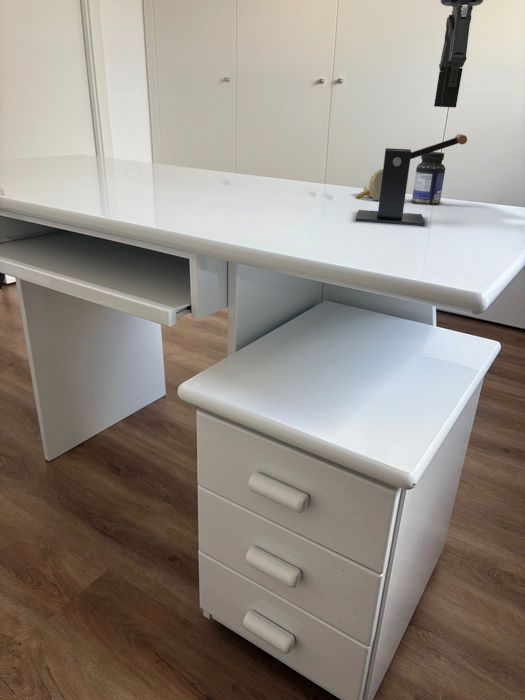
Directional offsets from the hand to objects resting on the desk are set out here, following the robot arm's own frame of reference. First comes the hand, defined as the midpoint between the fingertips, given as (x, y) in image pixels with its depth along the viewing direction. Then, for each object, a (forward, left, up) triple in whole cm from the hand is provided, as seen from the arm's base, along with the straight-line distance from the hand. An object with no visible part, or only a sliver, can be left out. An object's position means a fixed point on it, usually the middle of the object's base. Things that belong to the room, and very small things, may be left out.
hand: (444, 107), depth 106 cm
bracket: (+8, +18, -20) cm, 28 cm away
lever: (+3, +18, -8) cm, 20 cm away
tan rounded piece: (+11, -9, -20) cm, 25 cm away
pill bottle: (0, -6, -20) cm, 21 cm away
